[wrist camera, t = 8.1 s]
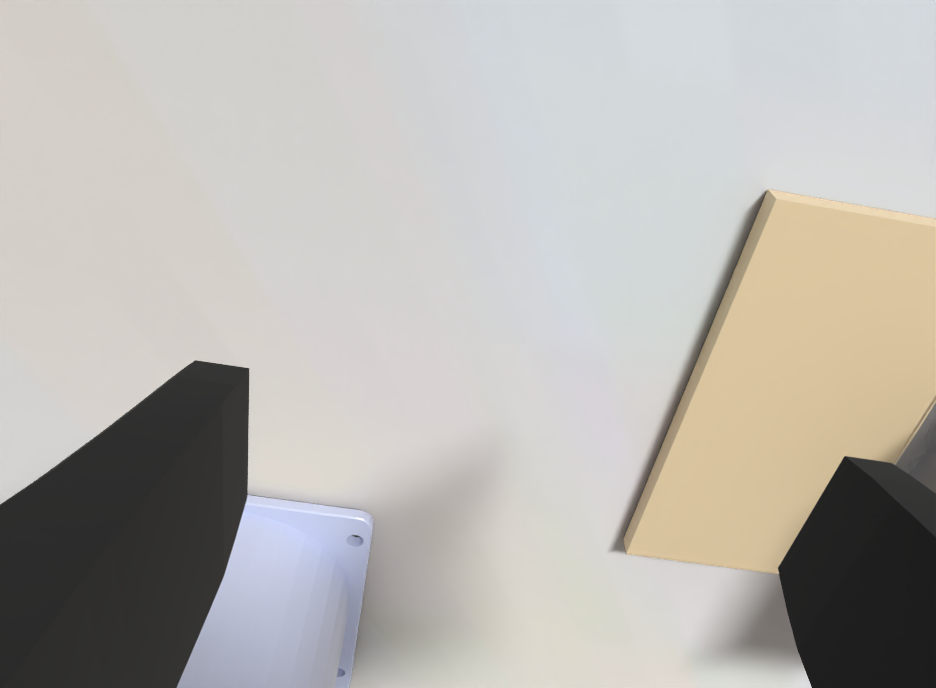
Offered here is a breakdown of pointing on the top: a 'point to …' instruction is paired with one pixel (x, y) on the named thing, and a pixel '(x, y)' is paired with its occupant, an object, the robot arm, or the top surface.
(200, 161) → the top surface
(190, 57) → the top surface
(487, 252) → the top surface
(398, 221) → the top surface
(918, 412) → the tan square board
